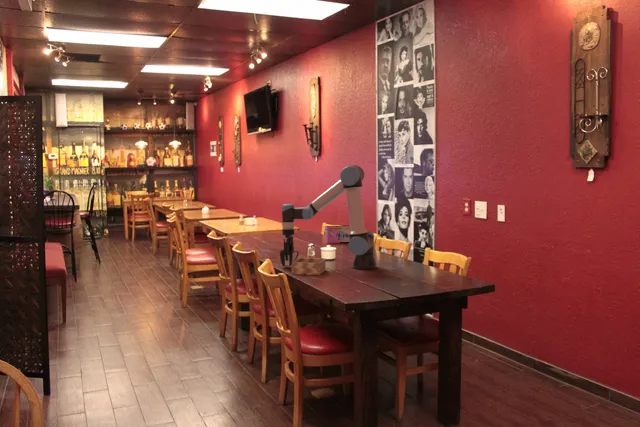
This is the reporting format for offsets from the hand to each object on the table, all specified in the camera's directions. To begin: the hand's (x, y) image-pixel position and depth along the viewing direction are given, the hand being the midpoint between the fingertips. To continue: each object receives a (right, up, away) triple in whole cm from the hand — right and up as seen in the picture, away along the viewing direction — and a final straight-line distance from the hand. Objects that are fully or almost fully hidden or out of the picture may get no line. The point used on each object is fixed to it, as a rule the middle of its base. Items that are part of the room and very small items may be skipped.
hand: (289, 264), depth 373 cm
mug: (0, -1, +1) cm, 1 cm away
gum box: (+35, +8, +111) cm, 117 cm away
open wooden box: (+13, -3, -14) cm, 19 cm away
